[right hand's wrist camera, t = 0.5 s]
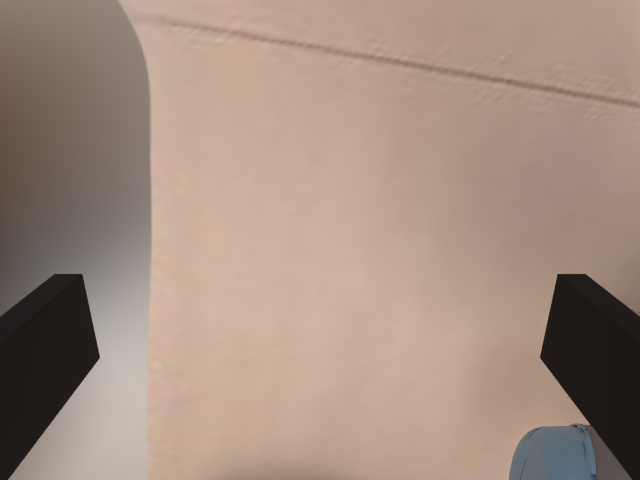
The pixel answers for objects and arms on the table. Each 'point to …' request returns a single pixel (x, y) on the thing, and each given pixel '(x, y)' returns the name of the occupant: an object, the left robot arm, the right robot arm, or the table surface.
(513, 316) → the table surface
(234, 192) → the table surface
